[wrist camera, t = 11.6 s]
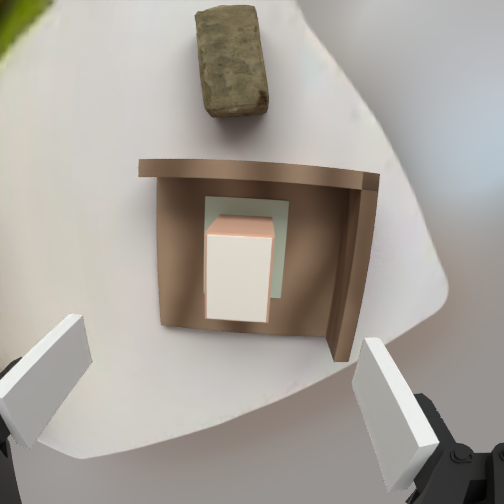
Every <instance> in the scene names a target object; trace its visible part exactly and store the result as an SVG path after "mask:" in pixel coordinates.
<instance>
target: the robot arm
mask: <svg viewBox="0 0 504 504" xmlns="http://www.w3.org/2000/svg"><path fill="white" fill-rule="evenodd" d="M91 363H92V358H91V354H90V349H89V345H88V340H87V335H86V330H85V325H84V319H83V315H77V314H72V313H70V314H69V315H68V316H67V317H66V318H65V319H63V320H62V321H61V322H60V323H59V324H58V325H57V326H56V327H55V328H54V329H52V330H51V331H50V332H49V333H48V334H47V335H46V336H45V337H44V338H43V339H42V340H41V341H40V342H39V343H37V344H36V345H35V346H34V347H33V348H32V349H31V350H30V351H29V352H28V353H27V354H26V355H25V356H24V357H23V358H22V357H20V358H18V359H16V360H14V361H12V362H11V363H10V364H9V365H8V366H7V367H6V368H5V370H3V371H2V372H1V373H0V504H22V503H21V499H20V495H19V491H18V486H17V482H16V477H15V472H14V467H13V461H12V455H11V449H10V444H9V441H8V439H7V438H8V436H9V435H10V434H11V435H12V437H13V439H14V440H15V442H16V443H17V444H19V445H21V446H23V447H25V448H27V449H31V447H32V446H33V444H34V443H35V441H36V440H37V438H38V437H39V436H40V434H41V433H42V431H43V430H44V428H45V427H46V425H47V424H48V422H49V421H50V420H51V418H52V417H53V415H54V414H55V412H56V411H57V410H58V408H59V407H60V405H61V404H62V403H63V401H64V400H65V398H66V397H67V396H68V394H69V393H70V391H71V390H72V389H73V387H74V386H75V385H76V383H77V382H78V381H79V379H80V378H81V377H82V375H83V374H84V372H85V371H86V370H87V368H88V367H89V366H90V364H91ZM352 388H353V390H354V393H355V396H356V399H357V402H358V404H359V407H360V410H361V413H362V416H363V418H364V421H365V424H366V427H367V430H368V433H369V436H370V439H371V441H372V444H373V448H374V451H375V454H376V456H377V460H378V463H379V465H380V469H381V472H382V475H383V478H384V481H385V484H386V487H387V491H388V493H391V492H396V491H401V490H406V489H407V488H408V487H409V486H410V485H411V483H412V482H413V481H414V483H415V485H416V489H415V491H414V492H413V493H412V494H411V496H410V497H409V498H408V499H407V500H406V503H407V504H504V443H499V444H498V445H496V446H495V448H494V449H493V450H492V452H491V453H474V452H473V450H472V449H470V447H468V446H466V445H464V444H460V443H456V442H455V440H454V439H453V436H452V435H451V433H450V431H449V430H448V428H447V426H446V425H445V423H444V421H443V419H442V418H440V414H439V413H438V411H436V408H435V406H434V404H433V403H432V401H431V400H430V399H428V398H427V397H426V396H425V395H423V394H422V393H420V394H412V392H411V390H410V388H409V387H408V385H407V383H406V381H405V380H404V378H403V376H402V375H401V373H400V371H399V370H398V368H397V366H396V365H395V363H394V361H393V359H392V358H391V356H390V354H389V353H388V351H387V350H386V348H385V346H384V345H383V343H382V341H381V340H380V338H379V337H378V338H364V340H363V344H362V348H361V351H360V355H359V359H358V363H357V367H356V370H355V374H354V377H353V381H352Z"/></svg>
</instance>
